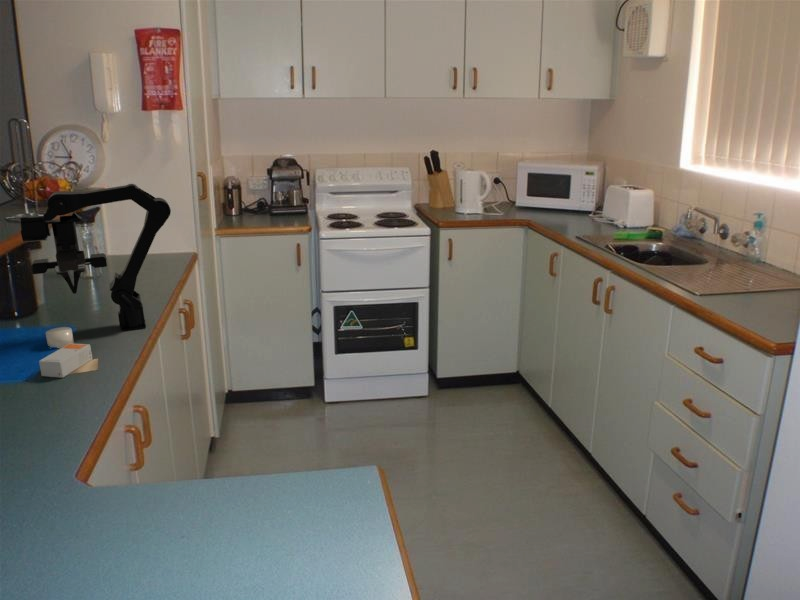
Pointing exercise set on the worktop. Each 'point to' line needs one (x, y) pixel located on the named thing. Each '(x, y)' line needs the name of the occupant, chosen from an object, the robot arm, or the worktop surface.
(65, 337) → the beige rounded piece
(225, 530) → the worktop surface
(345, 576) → the worktop surface
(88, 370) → the smooth tan tapered shape
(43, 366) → the skincare box
